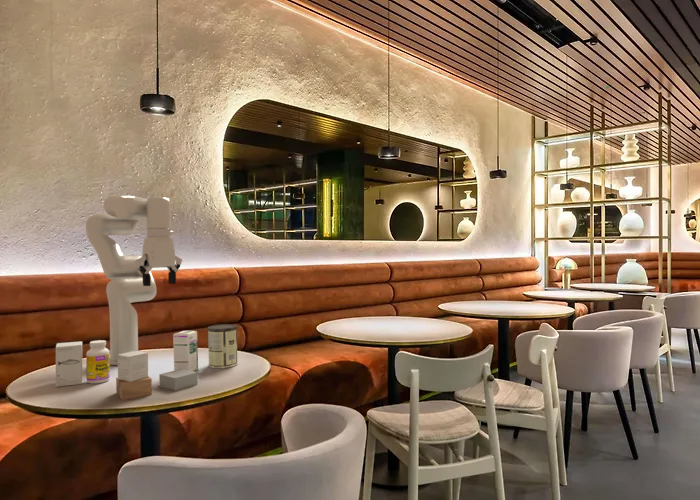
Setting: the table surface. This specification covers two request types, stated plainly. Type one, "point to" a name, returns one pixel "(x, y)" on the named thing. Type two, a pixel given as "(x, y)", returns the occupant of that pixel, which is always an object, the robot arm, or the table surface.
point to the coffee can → (222, 345)
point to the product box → (132, 366)
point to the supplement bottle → (97, 362)
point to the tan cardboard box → (133, 388)
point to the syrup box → (185, 351)
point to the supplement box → (68, 363)
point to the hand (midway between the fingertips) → (159, 284)
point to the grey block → (178, 379)
